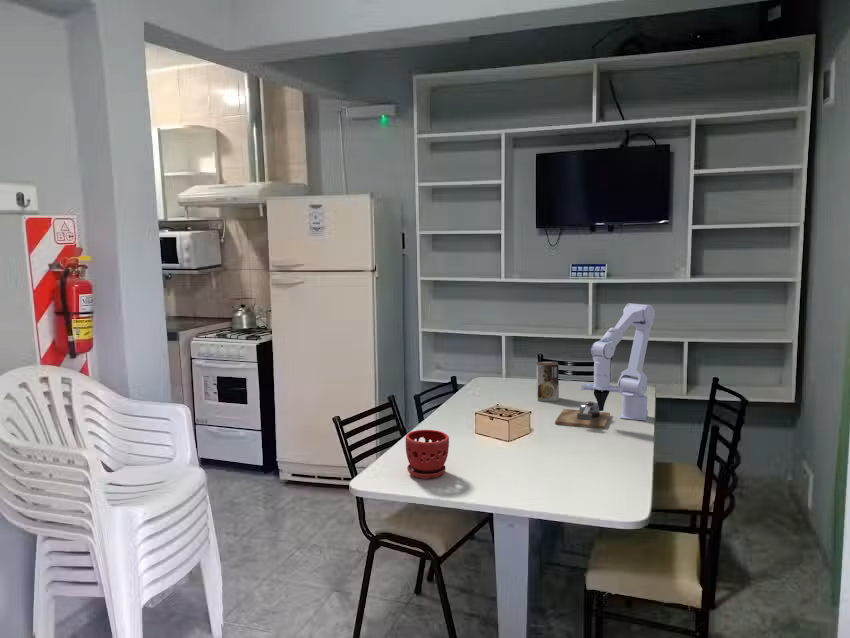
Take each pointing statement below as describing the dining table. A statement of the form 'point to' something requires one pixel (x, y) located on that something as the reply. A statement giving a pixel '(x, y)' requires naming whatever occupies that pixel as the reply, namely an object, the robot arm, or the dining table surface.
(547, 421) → the dining table surface
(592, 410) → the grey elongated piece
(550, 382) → the brown rectangular box
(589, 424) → the board
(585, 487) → the dining table surface
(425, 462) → the plant pot
